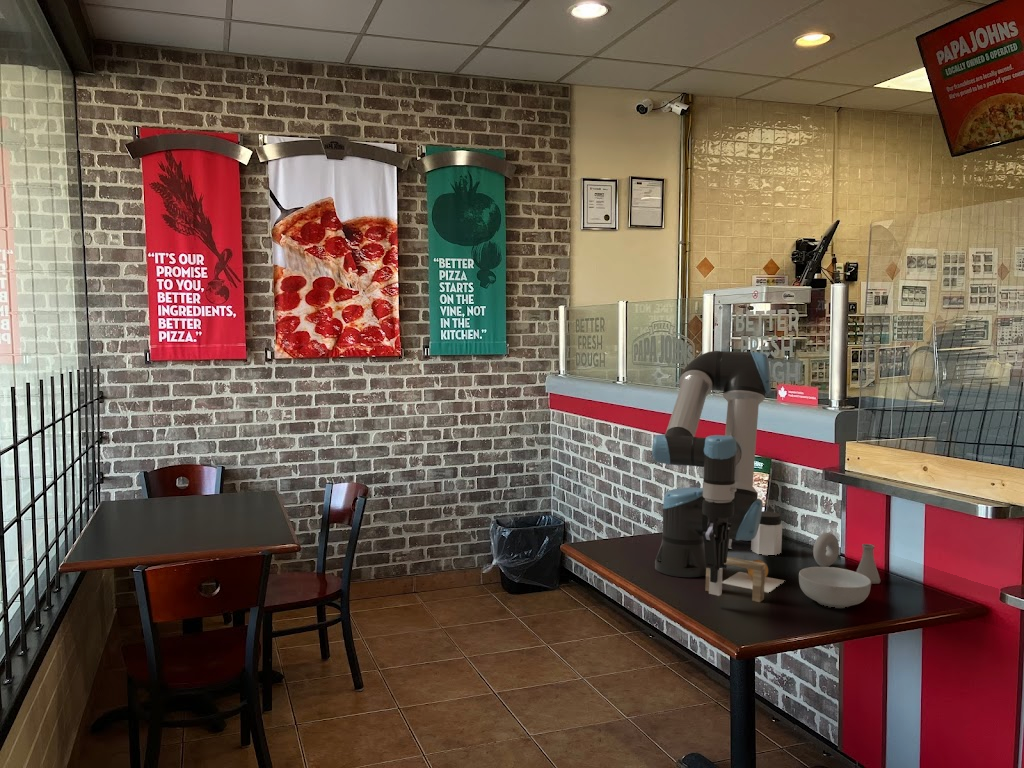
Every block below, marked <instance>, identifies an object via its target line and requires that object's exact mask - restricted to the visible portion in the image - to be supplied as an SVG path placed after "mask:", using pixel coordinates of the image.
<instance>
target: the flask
mask: <svg viewBox="0 0 1024 768" xmlns="http://www.w3.org/2000/svg"><path fill="white" fill-rule="evenodd" d="M861 545H862V547H861V548H862V555H861V559H860V561H859V563H858V566H857V568H856V571H855V572H857V573H860V574H862V575H864V576H866V577H868V578H869V579H870V581H871V585H873V584H874V585H876V584H878V585H879V584H880V583H881V582H882V581H881V578H880V574H879V571H878V569H877V565H876V561H875V558H874V557H875V556H874V549H875V547H876V545H874V544H871V543H862V544H861Z"/></svg>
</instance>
